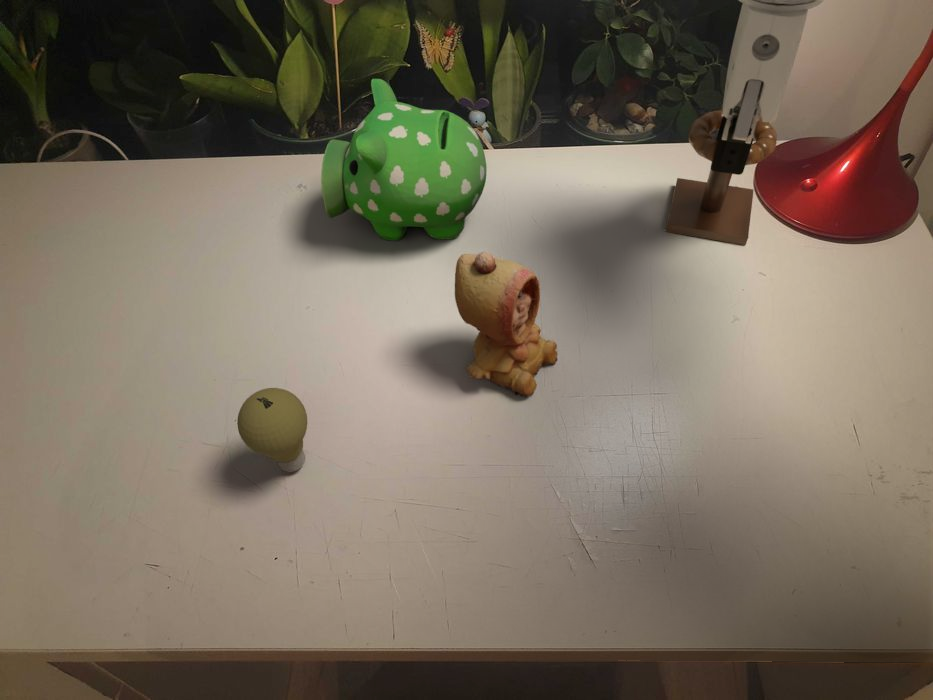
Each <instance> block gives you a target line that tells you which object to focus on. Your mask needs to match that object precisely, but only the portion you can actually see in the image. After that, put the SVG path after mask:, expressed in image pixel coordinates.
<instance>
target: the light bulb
mask: <svg viewBox="0 0 933 700" xmlns="http://www.w3.org/2000/svg"><path fill="white" fill-rule="evenodd" d="M236 421H237V423H236V424H237V431H238V434H239V437H240V439H241V440H242V442H243V443H244V444H245V445H246V447H248V448H249V449H250V450H252V451H253V452H254V453H256V454H259V455H261V456H266V457H270V458H271V459H272V460H274V461H276V463H277V464H278V466H279V468H280V469H281V470H282V471H284V472H287V473H293V472H295V471H299V469H301V468H302V466H304V464H305V462H306V454H305V452H304V450H303V447H304V438H305V436H306V433H307V429H308V413H307V409H306V408H305V406H304V404H303V403H302V401H301V399H300V398H299V397H297V395H296V394H294V393H293V392H291V391H289V390H286V389H285V388H278V387H269V388H268V387H267V388H263V389H260V390H258V391H256V392H254V393H252V394H251V395H249V396H248V397H247V398H246V399H245V400H244V401H243V403H242V405H241V407H240V408H239V411H238V414H237V420H236Z"/></svg>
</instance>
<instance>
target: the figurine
mask: <svg viewBox="0 0 933 700" xmlns="http://www.w3.org/2000/svg"><path fill="white" fill-rule="evenodd" d="M454 272H455V273H454V299H455V305H456V308H457V311H458V313H459V316H460V317H461V319H462V320H463V322H464V323H465V324H467V325H470V326H472V327H474V328H475V329H476V330H477V331H478V334H477V335H476V337H475V339H474V343H473V352H474V361H473V362H472V363H471V364H468V365H467V366H466V368H465V369H466V371H467V374H468V375H469V377H471V378H473V379H478V380H480V379H482V378H483V379H486V380H489V381H490V382H491V383H493V384H494V385H497V386H499V387H503V388H504V389H506V390H509V391H511V392H513V393H514V395H515V396H519V397H521V398H523V397H530V396H533V394H534V393H535V391H536V389H537V386H538V385H537V381H536V379H535V378H534V377H535V376H537V375H538V372H539V371H540V369H541V368H542V366H543V365H555V364H556V363H557V362H558V351H557V350H556V349H557V343H556V342H555V341H554V340H551V339H546V338H542V337H541V331H542V329H541V327H540V326H539V325H538V324H537V323H535V322H536V318H537V317H538V312H539V308H540V301H541V299H540V298H541V288H540V286H541V285H540V281H539V278H538V276H537V275H536V274H535V273H534V272H533V271H532V270H530V269H529V268H527V267H525V266H523V265H522V264H520V263H517V262H516V261H511V260H508V259H503V258H499V257H495V256H494V255H493V254H491V253H490V252H487V251H482V252H479V253H478V254H474V253H463V254H460V256H459V257H458V259H457V261H456V265H455V271H454Z"/></svg>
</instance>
